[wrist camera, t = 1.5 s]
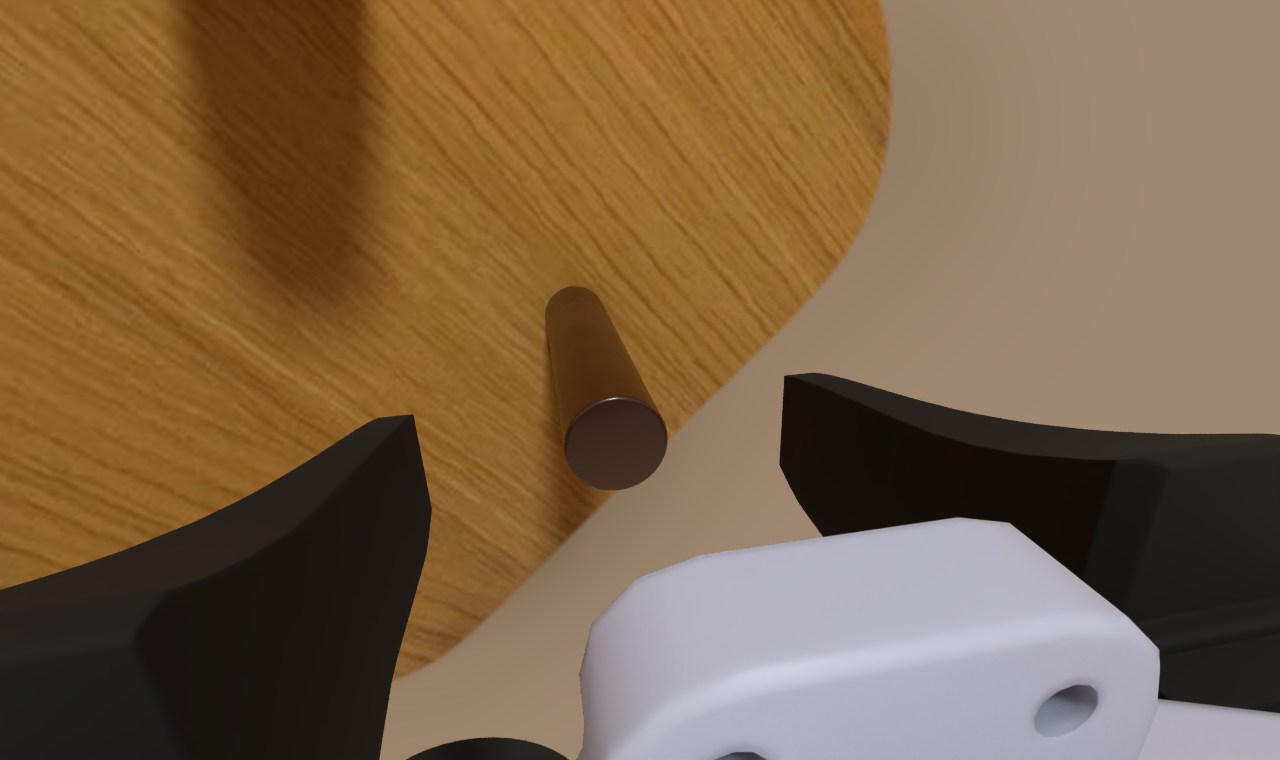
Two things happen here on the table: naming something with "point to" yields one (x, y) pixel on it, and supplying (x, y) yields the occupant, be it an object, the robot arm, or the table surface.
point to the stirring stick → (600, 396)
